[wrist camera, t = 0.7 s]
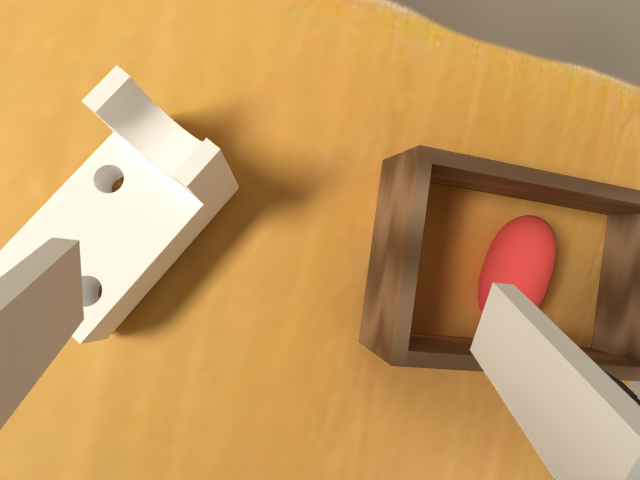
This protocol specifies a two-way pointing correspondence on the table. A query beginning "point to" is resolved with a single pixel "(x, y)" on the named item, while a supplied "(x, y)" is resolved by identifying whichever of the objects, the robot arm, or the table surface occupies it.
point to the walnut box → (508, 180)
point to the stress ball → (520, 259)
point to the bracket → (129, 204)
